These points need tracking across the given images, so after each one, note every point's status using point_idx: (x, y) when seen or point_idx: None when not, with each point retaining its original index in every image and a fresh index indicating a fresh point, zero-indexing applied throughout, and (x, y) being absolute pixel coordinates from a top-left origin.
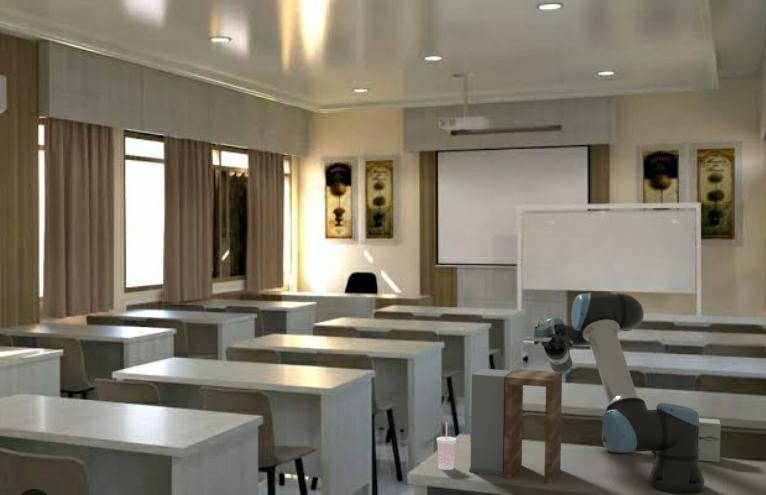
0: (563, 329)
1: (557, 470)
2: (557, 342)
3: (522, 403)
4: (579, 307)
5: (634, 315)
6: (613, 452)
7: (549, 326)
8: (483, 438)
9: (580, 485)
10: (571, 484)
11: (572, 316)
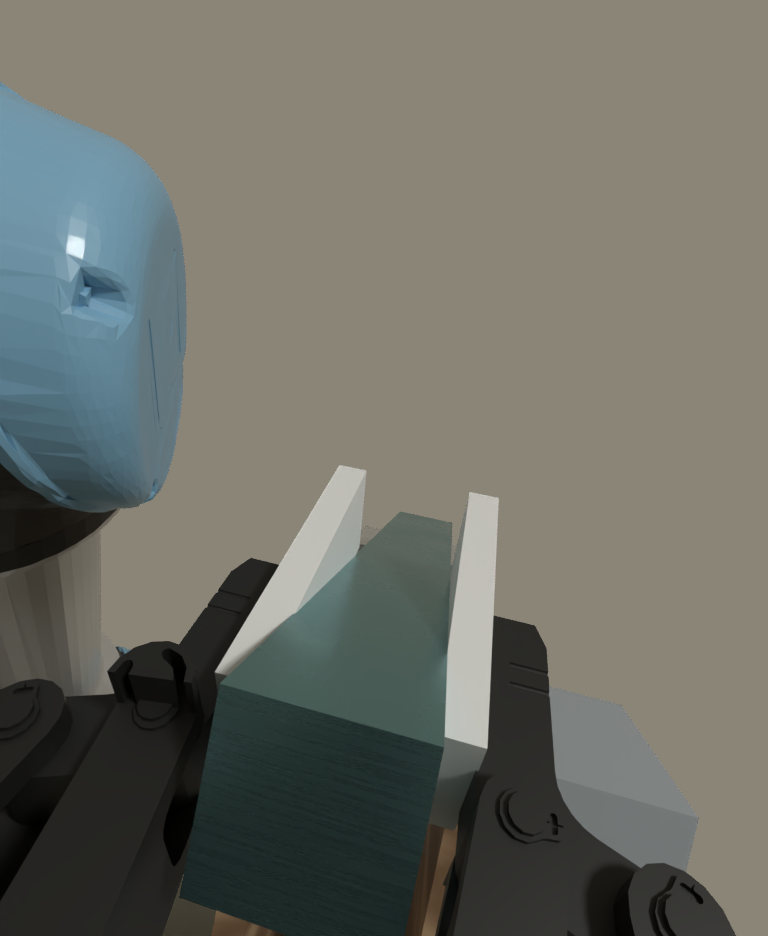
0: (51, 697)
1: None
2: None
3: (422, 925)
4: (182, 316)
5: None
6: None
7: (363, 548)
8: None
9: (178, 906)
10: (204, 914)
11: (147, 392)
